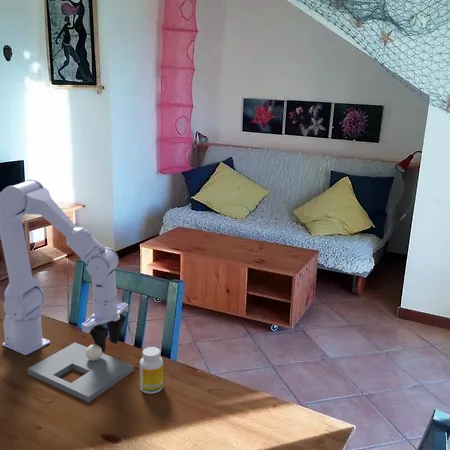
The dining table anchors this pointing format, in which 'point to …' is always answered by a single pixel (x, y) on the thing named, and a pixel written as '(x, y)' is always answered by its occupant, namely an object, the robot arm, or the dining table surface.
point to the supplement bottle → (151, 371)
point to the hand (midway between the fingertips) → (107, 346)
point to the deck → (94, 372)
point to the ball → (93, 352)
